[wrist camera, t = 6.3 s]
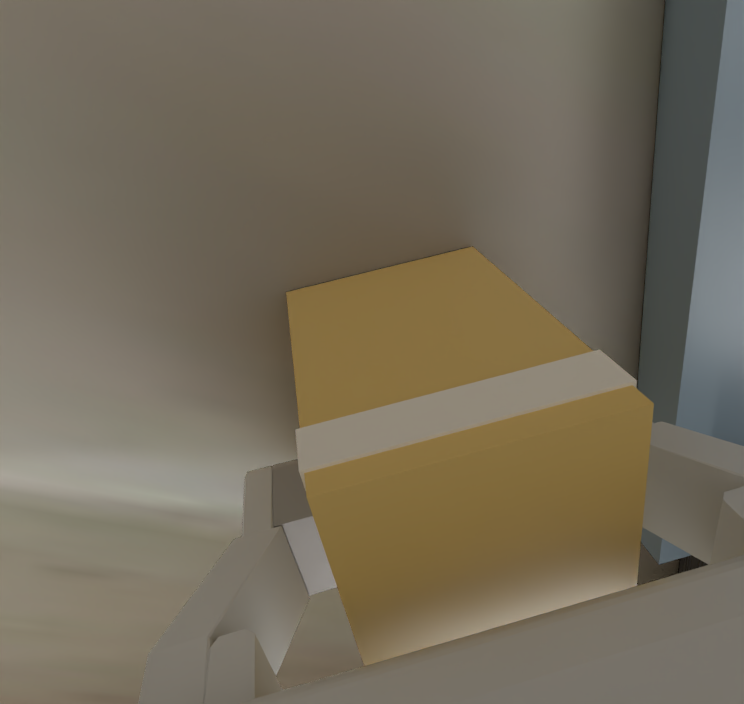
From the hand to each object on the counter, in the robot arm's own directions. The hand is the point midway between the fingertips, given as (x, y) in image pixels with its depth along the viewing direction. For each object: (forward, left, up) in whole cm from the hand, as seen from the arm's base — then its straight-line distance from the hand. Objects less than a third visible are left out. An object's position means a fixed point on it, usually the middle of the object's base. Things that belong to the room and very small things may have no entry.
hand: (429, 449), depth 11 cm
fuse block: (0, 0, -2) cm, 2 cm away
